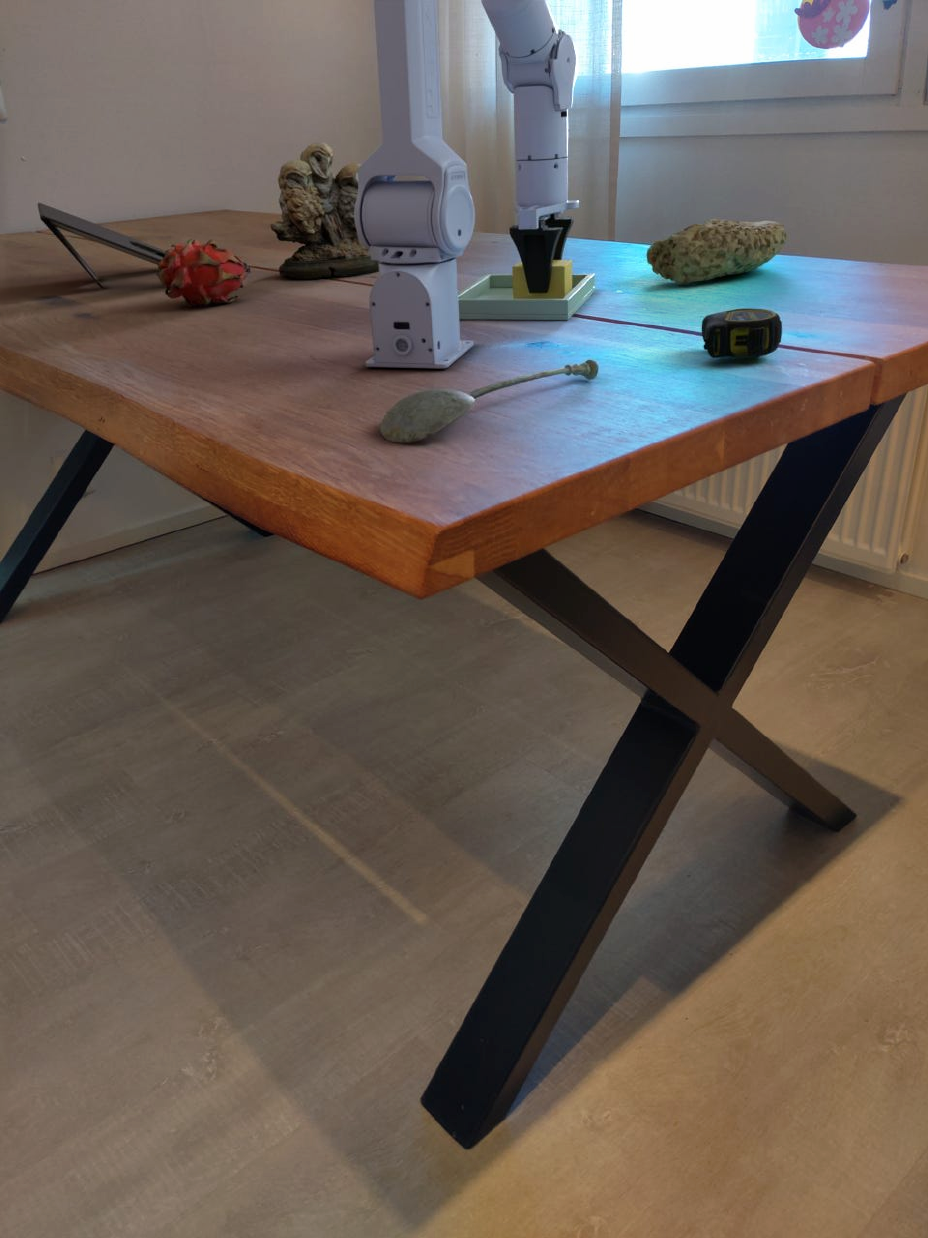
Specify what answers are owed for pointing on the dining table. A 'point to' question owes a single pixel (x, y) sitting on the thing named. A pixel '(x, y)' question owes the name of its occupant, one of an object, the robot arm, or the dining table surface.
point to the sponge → (716, 250)
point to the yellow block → (558, 282)
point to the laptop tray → (95, 237)
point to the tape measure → (741, 333)
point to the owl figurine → (320, 217)
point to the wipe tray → (519, 300)
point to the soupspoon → (453, 405)
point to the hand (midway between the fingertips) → (543, 288)
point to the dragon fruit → (201, 273)
